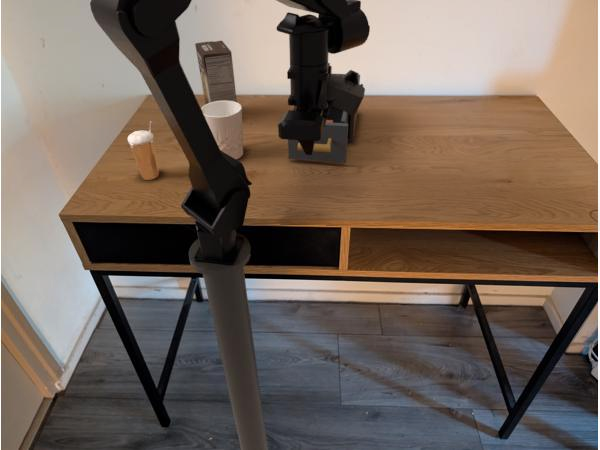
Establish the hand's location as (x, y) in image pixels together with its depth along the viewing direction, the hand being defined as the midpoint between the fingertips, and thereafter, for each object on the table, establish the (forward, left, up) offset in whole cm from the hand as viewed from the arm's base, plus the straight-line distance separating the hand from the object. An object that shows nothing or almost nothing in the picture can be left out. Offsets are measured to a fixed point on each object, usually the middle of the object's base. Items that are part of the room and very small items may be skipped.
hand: (309, 153), depth 74 cm
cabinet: (+27, 0, -8) cm, 28 cm away
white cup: (+11, +19, -8) cm, 23 cm away
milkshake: (+1, +31, -8) cm, 32 cm away
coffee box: (+29, +26, -8) cm, 40 cm away
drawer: (+14, 0, -7) cm, 16 cm away
